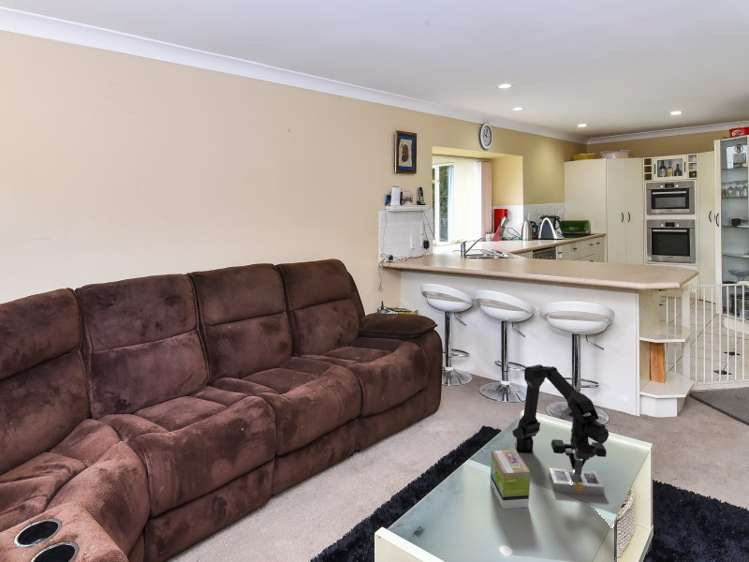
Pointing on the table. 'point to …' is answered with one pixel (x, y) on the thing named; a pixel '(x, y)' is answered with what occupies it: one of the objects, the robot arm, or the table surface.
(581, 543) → the table surface
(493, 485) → the tea box
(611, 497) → the table surface
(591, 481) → the rack
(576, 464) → the panel
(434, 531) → the table surface
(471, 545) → the table surface
